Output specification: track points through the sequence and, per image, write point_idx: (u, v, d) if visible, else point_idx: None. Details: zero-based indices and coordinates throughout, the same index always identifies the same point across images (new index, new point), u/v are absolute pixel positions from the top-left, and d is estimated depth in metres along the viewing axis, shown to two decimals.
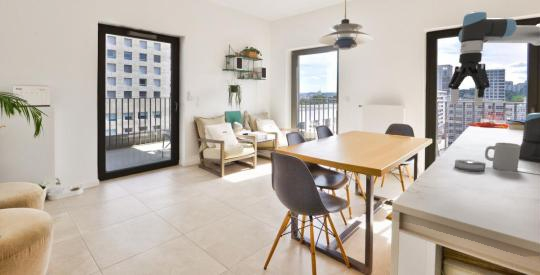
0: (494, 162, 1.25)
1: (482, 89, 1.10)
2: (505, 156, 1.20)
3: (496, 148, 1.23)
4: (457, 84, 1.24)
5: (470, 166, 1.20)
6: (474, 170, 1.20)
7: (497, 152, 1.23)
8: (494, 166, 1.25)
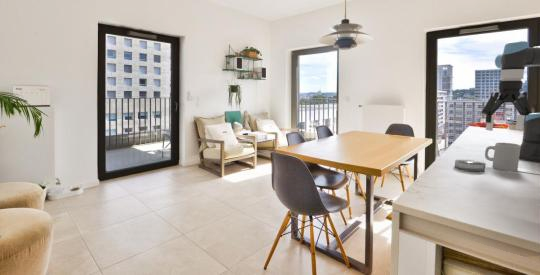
0: (494, 162, 1.25)
1: (487, 115, 1.21)
2: (505, 156, 1.20)
3: (496, 148, 1.23)
4: (519, 110, 1.22)
5: (470, 166, 1.20)
6: (474, 170, 1.20)
7: (497, 152, 1.23)
8: (494, 166, 1.25)
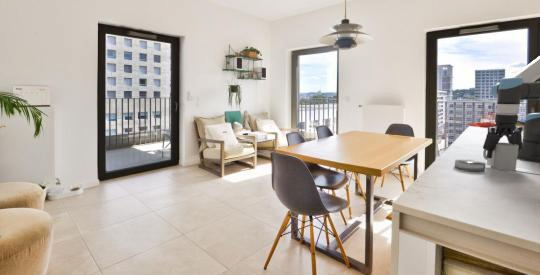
0: None
1: (488, 151, 1.24)
2: (503, 156, 1.20)
3: None
4: None
5: (470, 166, 1.20)
6: (474, 170, 1.20)
7: (495, 152, 1.23)
8: (492, 166, 1.25)
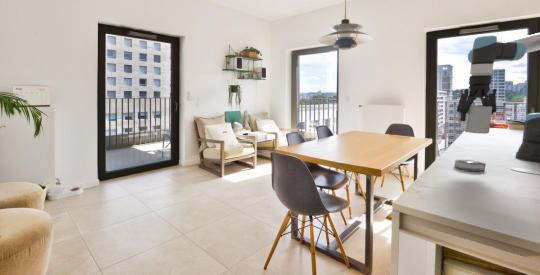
0: None
1: (461, 113, 1.21)
2: (476, 117, 1.17)
3: (468, 110, 1.20)
4: None
5: (470, 166, 1.20)
6: (474, 170, 1.20)
7: None
8: (466, 129, 1.21)
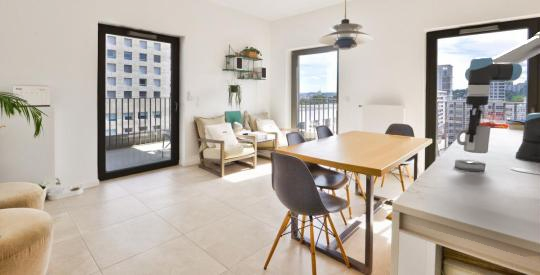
0: None
1: (471, 135, 1.18)
2: (484, 138, 1.18)
3: None
4: None
5: (470, 166, 1.20)
6: (474, 170, 1.20)
7: None
8: (472, 150, 1.20)
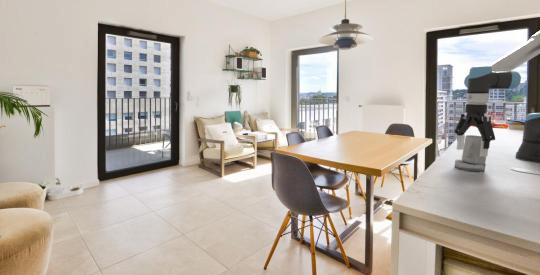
0: (478, 157, 1.20)
1: (488, 141, 1.14)
2: None
3: None
4: (463, 131, 1.28)
5: (470, 166, 1.20)
6: (474, 170, 1.20)
7: None
8: (479, 161, 1.20)
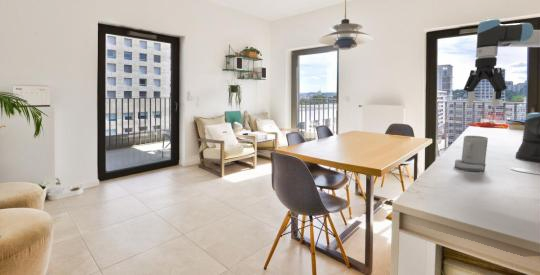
0: (478, 158, 1.20)
1: (499, 91, 1.18)
2: (486, 149, 1.20)
3: (480, 143, 1.19)
4: (473, 87, 1.32)
5: (470, 166, 1.20)
6: (474, 170, 1.20)
7: (482, 147, 1.19)
8: (478, 162, 1.20)
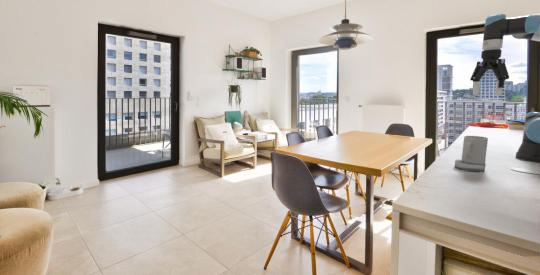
0: (478, 158, 1.20)
1: (502, 80, 1.29)
2: (486, 149, 1.21)
3: (480, 143, 1.19)
4: (478, 77, 1.43)
5: (470, 166, 1.20)
6: (474, 170, 1.20)
7: (482, 147, 1.19)
8: (478, 162, 1.20)
